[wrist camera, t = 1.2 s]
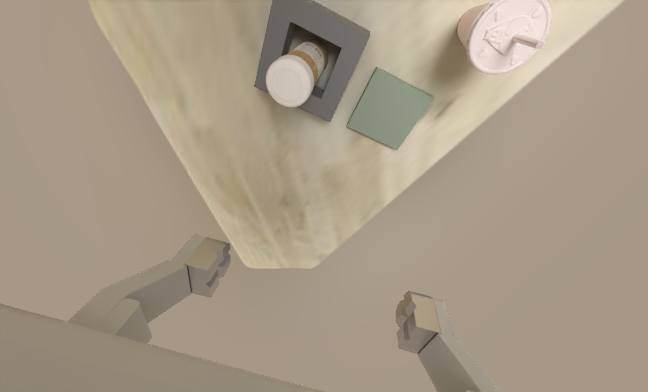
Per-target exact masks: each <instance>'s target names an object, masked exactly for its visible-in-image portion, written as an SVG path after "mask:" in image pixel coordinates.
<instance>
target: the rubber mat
mask: <svg viewBox="0 0 648 392" xmlns="http://www.w3.org/2000/svg"><path fill="white" fill-rule="evenodd" d="M433 99H434V97H433V96H431V95H429V94H428V93H426V92H424V91H422V90H420V89H418V88H416V87H414V86H412V85H410V84H408V83H406V82H404V81H402V80H401V79H399V78H397V77H395V76H393V75H391V74H389V73H387V72H385V71H383V70H381V69H379V68H377V67H376V69H375V71H374V73H373V75H372V77H371V79H370V81H369V83H368V85H367V87H366V89H365V90H364V92H363V94H362V96H361V98H360V100H359V102H358V104H357V106H356V108H355V110H354V112H353V114H352V116H351V118H350V120H349V122H348V124H347V127H349V128H351V129H353V130H355V131H358V132H360V133H362V134H364V135H366V136H368V137H370V138H372V139H375V140H377V141H379V142H381V143H383V144H385V145H387V146H389V147H392V148H394V149H396V150H398V148H399V147H400V145H401V144H402V143H403V141H404V140H405V138H406V137H407V136H408V134H409V133H410V131H411V130H412V129H413V127H414V126H415V125H416V123H417V122H418V120H419V119H420V118H421V116H422V115H423V113H424V112H425V111H426V109H427V108H428V106H429V105H430V104H431V102H432V101H433Z"/></svg>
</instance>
